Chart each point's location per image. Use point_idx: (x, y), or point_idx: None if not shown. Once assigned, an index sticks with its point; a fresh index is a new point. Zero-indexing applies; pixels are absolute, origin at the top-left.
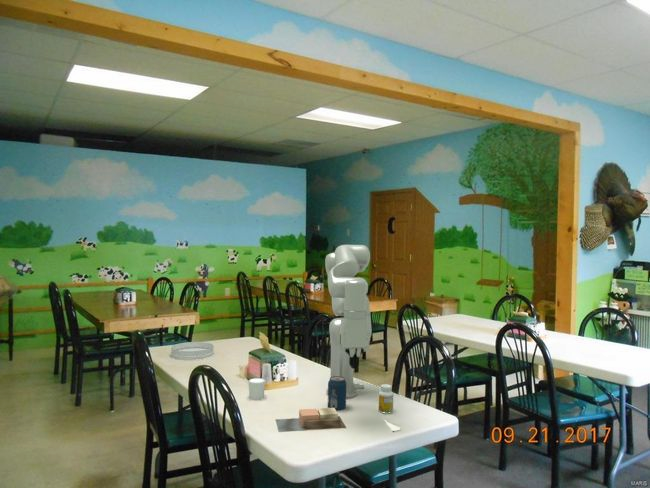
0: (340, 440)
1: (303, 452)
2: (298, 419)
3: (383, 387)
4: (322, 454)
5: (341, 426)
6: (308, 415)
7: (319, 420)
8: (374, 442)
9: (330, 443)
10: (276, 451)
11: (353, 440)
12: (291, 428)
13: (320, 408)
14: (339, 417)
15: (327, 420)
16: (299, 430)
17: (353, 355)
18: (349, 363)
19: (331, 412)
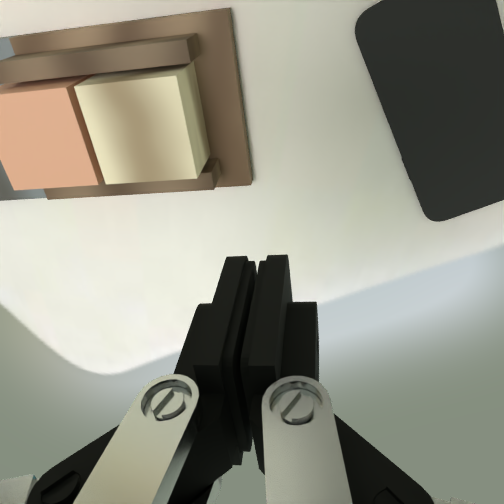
0: (218, 261)
1: (97, 324)
2: (2, 59)
3: None
4: (157, 341)
5: (227, 167)
6: (45, 187)
7: (110, 190)
8: (349, 288)
9: (180, 279)
10: (14, 310)
11: None
12: (4, 172)
13: (90, 85)
14: (225, 34)
15: (149, 192)
16: (43, 196)
17: (224, 464)
18: (198, 315)
19: (160, 154)
